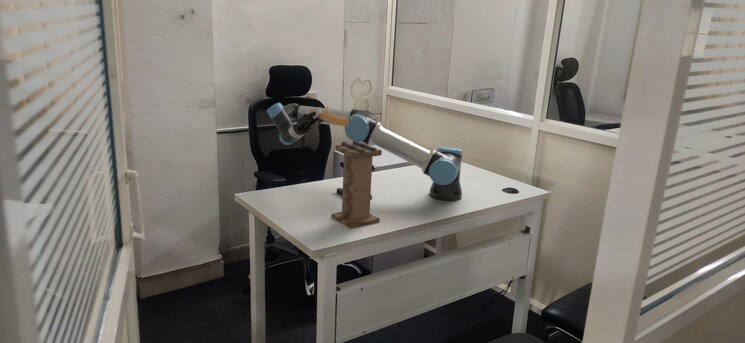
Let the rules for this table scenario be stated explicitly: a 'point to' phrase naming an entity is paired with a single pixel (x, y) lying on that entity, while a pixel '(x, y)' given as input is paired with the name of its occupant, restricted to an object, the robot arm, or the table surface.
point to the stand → (356, 184)
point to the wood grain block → (332, 118)
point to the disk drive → (340, 192)
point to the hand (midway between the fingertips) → (324, 109)
